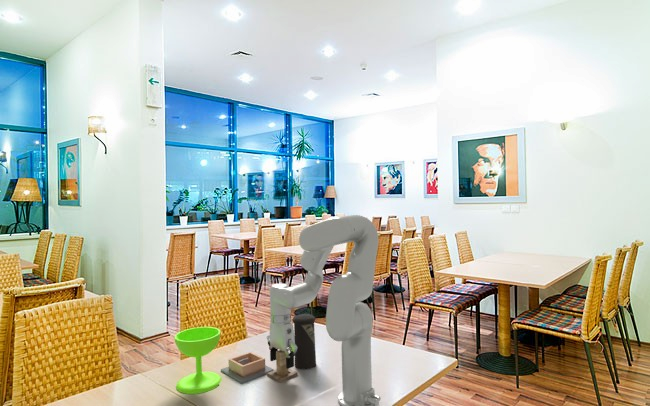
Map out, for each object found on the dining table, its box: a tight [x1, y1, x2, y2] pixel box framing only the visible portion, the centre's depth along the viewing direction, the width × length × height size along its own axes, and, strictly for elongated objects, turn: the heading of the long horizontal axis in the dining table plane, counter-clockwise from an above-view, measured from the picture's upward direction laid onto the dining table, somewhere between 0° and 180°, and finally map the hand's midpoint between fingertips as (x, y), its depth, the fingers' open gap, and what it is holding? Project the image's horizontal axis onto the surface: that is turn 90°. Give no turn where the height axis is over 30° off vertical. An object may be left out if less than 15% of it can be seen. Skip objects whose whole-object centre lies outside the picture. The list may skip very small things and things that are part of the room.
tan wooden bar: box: [275, 349, 288, 377], centre depth 149 cm, size 3×3×9 cm
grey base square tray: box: [220, 351, 275, 384], centre depth 154 cm, size 15×14×5 cm
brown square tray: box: [266, 368, 298, 383], centre depth 149 cm, size 8×8×2 cm
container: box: [291, 313, 317, 370], centre depth 158 cm, size 9×9×20 cm
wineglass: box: [174, 326, 222, 395], centre depth 146 cm, size 16×16×18 cm
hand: (282, 363), depth 149 cm, fingers open, 9 cm apart
